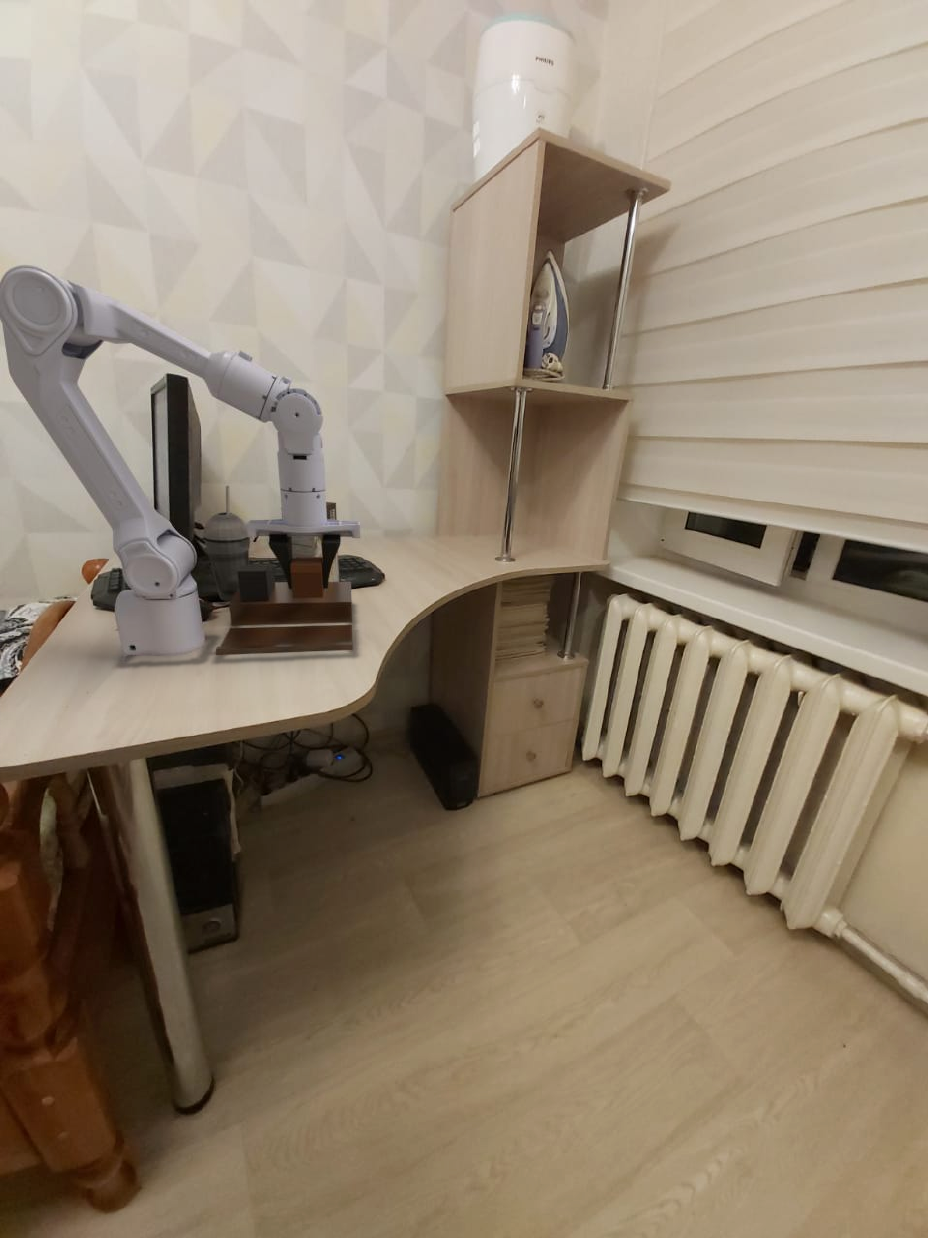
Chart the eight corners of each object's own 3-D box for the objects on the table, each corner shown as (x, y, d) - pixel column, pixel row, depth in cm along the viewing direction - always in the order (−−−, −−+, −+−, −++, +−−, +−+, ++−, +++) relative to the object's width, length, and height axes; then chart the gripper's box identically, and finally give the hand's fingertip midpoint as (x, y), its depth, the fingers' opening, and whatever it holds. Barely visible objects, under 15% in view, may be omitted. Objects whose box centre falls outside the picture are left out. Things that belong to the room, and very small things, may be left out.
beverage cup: (229, 592, 91) (215, 480, 84) (265, 597, 90) (254, 484, 82) (202, 605, 85) (184, 485, 77) (241, 611, 83) (226, 489, 76)
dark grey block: (268, 600, 77) (265, 571, 75) (240, 601, 76) (237, 571, 74) (275, 584, 84) (272, 556, 82) (249, 584, 83) (246, 556, 81)
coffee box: (310, 578, 101) (306, 498, 95) (340, 582, 100) (337, 502, 94) (286, 592, 93) (280, 506, 87) (318, 597, 92) (314, 510, 86)
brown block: (322, 597, 69) (321, 564, 67) (292, 598, 68) (290, 564, 66) (325, 579, 76) (323, 549, 74) (297, 580, 75) (295, 549, 73)
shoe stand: (217, 661, 67) (212, 631, 66) (244, 607, 85) (241, 582, 83) (353, 655, 71) (352, 627, 69) (351, 605, 89) (351, 581, 87)
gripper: (358, 486, 71) (360, 577, 76) (249, 483, 67) (259, 578, 73) (359, 494, 64) (361, 592, 69) (239, 491, 61) (251, 594, 66)
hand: (309, 586), depth 71 cm, fingers closed on brown block, 4 cm apart
